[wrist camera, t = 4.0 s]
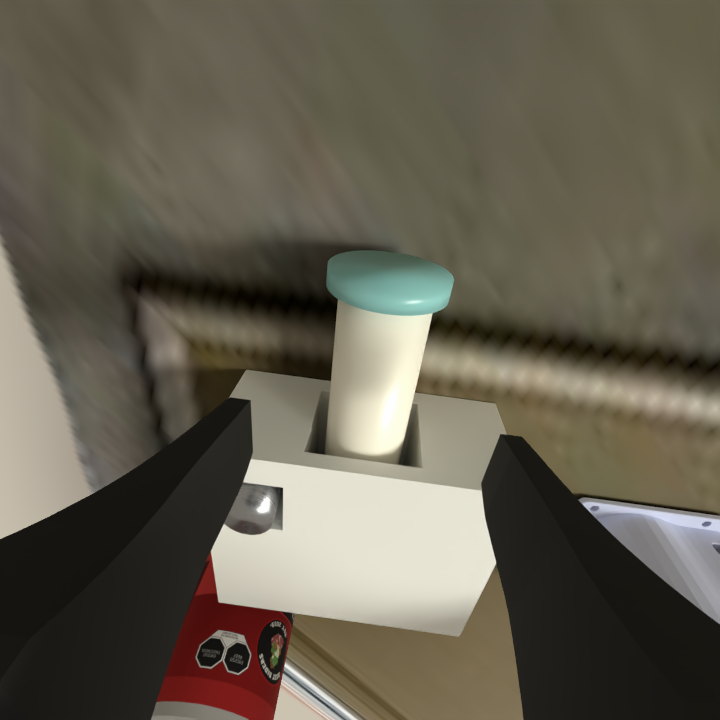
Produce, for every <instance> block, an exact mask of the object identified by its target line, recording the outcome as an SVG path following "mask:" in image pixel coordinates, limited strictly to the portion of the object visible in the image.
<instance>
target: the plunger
mask: <svg viewBox="0 0 720 720" xmlns="http://www.w3.org/2000/svg"><path fill="white" fill-rule="evenodd" d="M282 491H283V488H281V487H274V486H267V485H260V484H253V483H245V482H243V484H242V486H241V488H240V491H239V493H238V495H237V497H236V499H235V501H234V503H233V506H232V508H231V510H230V512H229V514H228V516H227V518H226V520H225V522H224V524H225V525H226V526H227V527H229V528H230V529H232V530H234V531H236V532H239V533H242V534H247V535H258V534H262V533H265V532H266V531H268V530H269V529H270V528H271V526H272V523H273V520H274V517H275V514H276V511H277V507H278V504H279V501H280V498H281V494H282Z"/></svg>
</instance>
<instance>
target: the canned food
mask: <svg viewBox="0 0 720 720" xmlns="http://www.w3.org/2000/svg"><path fill="white" fill-rule="evenodd" d="M294 615H295V613H290V612H283V611H276V610H269V609H262V608H255V607H248V606H241V605H234V604H227V603H220V602H218V595H217V589H216V582H215V575H214V569H213V562H212V555H211V552H210V554H209V556H208V558H207V561H206V563H205V565H204V568H203V570H202V572H201V575H200V578H199V580H198V583H197V586H196V589H195V591H194V594H193V597H192V599H191V602H190V605H189V608H188V610H187V613H186V616H185V619H184V622H183V625H182V628H181V630H180V633H179V636H178V639H177V642H176V645H175V648H174V651H173V653H172V656H171V660H170V663H169V666H168V669H167V672H166V675H165V678H164V681H163V684H162V687H161V690H160V693H159V696H158V699H157V702H156V705H155V709H154V712H153V715H152V718H151V720H273V719H274V714H275V709H276V704H277V699H278V694H279V689H280V685H281V680H282V675H283V670H284V665H285V660H286V655H287V650H288V645H289V640H290V635H291V630H292V625H293V620H294Z"/></svg>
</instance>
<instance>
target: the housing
mask: <svg viewBox="0 0 720 720" xmlns="http://www.w3.org/2000/svg"><path fill="white" fill-rule="evenodd" d="M330 386H331V381H326V380H319V379H312V378H304V377H297V376H289V375H282V374H275V373H267V372H260V371H253V370H246V371H245V372H244V374H243V376H242V377H241V379H240V380H239V382H238V384H237V385H236V387H235V389H234V390H233V392H232V393H231V395H230V397H232V398H239V399H246V400H251V417H252V439H253V454H252V457H251V460H250V463H249V467H248V470H247V473H246V475H245V478H244V481H243V482H245V483H253V484H260V485H267V486H274V487H281V488H283V491H282V494H281V498H280V501H279V504H278V507H277V511H276V514H275V517H274V520H273V523H272V526H271V528H270V529H269V530H268V531H266V532H265V533H262V534H258V535H247V534H242V533H239V532H236V531H234V530H232V529H230V528H229V527H227V526H226V525H225V524H224V525H223V527H222V529H221V531H220V533H219V535H218V537H217V539H216V541H215V543H214V546H213V548H212V550H211V555H212V562H213V569H214V575H215V582H216V589H217V595H218V602H220V603H227V604H234V605H241V606H248V607H255V608H262V609H269V610H276V611H283V612H290V613H297V614H304V615H311V616H318V617H325V618H332V619H339V620H346V621H353V622H360V623H367V624H374V625H381V626H388V627H396V628H403V629H410V630H417V631H424V632H431V633H438V634H445V635H452V636H460V634H461V632H462V630H463V628H464V626H465V624H466V622H467V620H468V619H469V617H470V615H471V613H472V611H473V609H474V607H475V605H476V603H477V601H478V599H479V597H480V595H481V593H482V591H483V589H484V587H485V585H486V583H487V581H488V579H489V577H490V575H491V573H492V571H493V569H494V567H495V565H496V560H495V556H494V552H493V548H492V544H491V540H490V536H489V532H488V528H487V524H486V519H485V514H484V506H483V498H482V488H481V482H482V479H483V477H484V474H485V472H486V469H487V467H488V464H489V462H490V459H491V457H492V454H493V451H494V449H495V446H496V444H497V441H498V439H499V436H500V434H505V435H507V434H506V431H505V429H504V426H503V423H502V420H501V417H500V415H499V412H498V409H497V406H496V404H495V403H488V402H481V401H474V400H466V399H459V398H452V397H444V396H437V395H429V394H422V393H414V398H413V402H412V407H411V411H410V415H409V420H408V424H407V429H406V433H405V438H404V442H403V446H402V451H401V455H400V460H399V464H398V465H395V464H388V463H381V462H373V461H366V460H359V459H352V458H344V457H337V456H330V455H325V444H326V433H327V421H328V409H329V398H330ZM230 397H229V398H230Z"/></svg>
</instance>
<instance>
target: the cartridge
mask: <svg viewBox="0 0 720 720" xmlns="http://www.w3.org/2000/svg"><path fill="white" fill-rule="evenodd" d="M453 282H454V278H453V276H452V274H451V273H450V272H449V271H447V270H446V269H445V268H443V267H441V266H439V265H437V264H435V263H433V262H430V261H428V260H425V259H422V258H419V257H415V256H411V255H406V254H401V253H395V252H388V251H376V250H359V251H349V252H344V253H340V254H337V255H335V256H333V257H332V258H330V259H329V261H328V265H327V280H326V286H327V289H328V291H329V292H330V293H331V294H332V295H333V296H334V297H336V298H337V299H338V305H337V316H336V328H335V340H334V351H333V363H332V374H331V386H330V398H329V409H328V421H327V433H326V444H325V455H330V456H337V457H344V458H352V459H359V460H366V461H373V462H381V463H388V464H395V465H398V464H399V460H400V455H401V451H402V446H403V442H404V438H405V433H406V429H407V424H408V420H409V415H410V411H411V407H412V402H413V398H414V393H415V389H416V384H417V380H418V376H419V371H420V367H421V362H422V358H423V353H424V349H425V345H426V340H427V336H428V331H429V327H430V322H431V318H432V313H434V312H437V311H440V310H442V309H443V308H445V307H446V306H447V304H448V302H449V298H450V294H451V290H452V286H453Z"/></svg>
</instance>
